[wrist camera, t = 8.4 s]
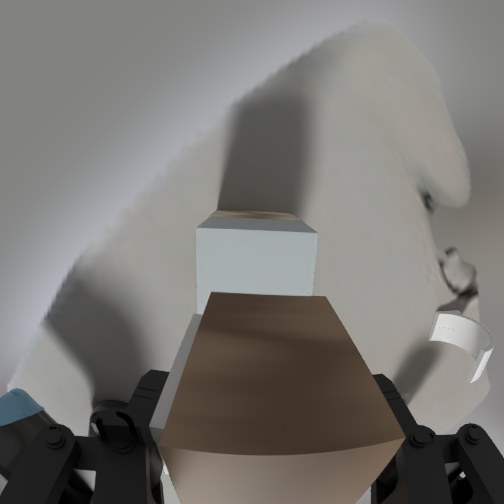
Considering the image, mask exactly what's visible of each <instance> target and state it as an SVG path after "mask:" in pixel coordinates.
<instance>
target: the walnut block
mask: <svg viewBox="0 0 504 504" xmlns="http://www.w3.org/2000/svg"><path fill="white" fill-rule="evenodd" d="M405 438H406V436H405V434H404V433H403V431H402V429H401V427H400V425H399V423H398V421H397V419H396V417H395V415H394V414H393V412H392V410H391V408H390V406H389V404H388V403H387V401H386V399H385V397H384V395H383V393H382V392H381V390H380V388H379V386H378V384H377V383H376V381H375V379H374V377H373V376H372V374H371V372H370V370H369V369H368V367H367V365H366V363H365V362H364V360H363V358H362V356H361V355H360V353H359V351H358V349H357V348H356V346H355V344H354V343H353V341H352V339H351V338H350V336H349V334H348V332H347V331H346V329H345V327H344V326H343V324H342V322H341V321H340V319H339V317H338V316H337V314H336V313H335V311H334V309H333V308H332V306H331V304H330V303H329V301H328V299H327V298H326V296H290V295H265V294H244V293H226V292H211V293H210V296H209V299H208V302H207V304H206V307H205V310H204V313H203V316H202V318H201V321H200V324H199V327H198V330H197V332H196V335H195V338H194V341H193V344H192V347H191V350H190V353H189V355H188V358H187V361H186V364H185V367H184V370H183V373H182V376H181V379H180V382H179V385H178V388H177V391H176V394H175V397H174V400H173V403H172V406H171V409H170V412H169V415H168V418H167V421H166V424H165V427H164V431H163V434H162V437H161V440H160V443H159V447H160V450H161V453H162V456H163V459H164V462H165V465H166V467H167V470H168V473H169V475H170V478H171V481H172V483H173V486H174V488H175V491H176V493H177V496H178V498H179V500H180V503H181V504H355V503H356V502H357V501H358V499H359V498H360V497H361V496H362V495H363V494H364V493H365V492H366V491H367V489H368V488H369V487H370V486H371V485H372V483H373V482H374V481H375V480H376V479H377V477H378V476H379V475H380V473H381V472H382V471H383V470H384V468H385V467H386V466H387V464H388V463H389V462H390V460H391V459H392V457H393V456H394V455H395V453H396V452H397V450H398V449H399V447H400V446H401V444H402V443H403V441H404V440H405Z"/></svg>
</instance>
